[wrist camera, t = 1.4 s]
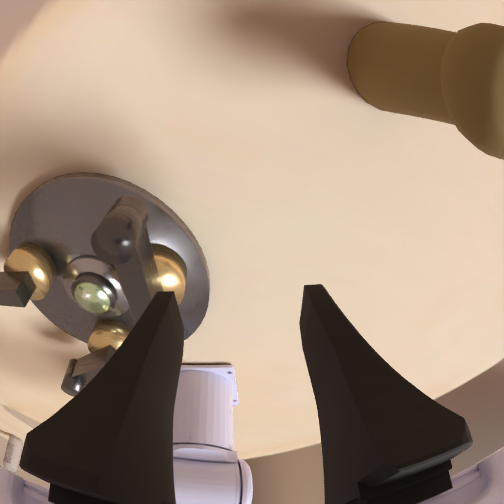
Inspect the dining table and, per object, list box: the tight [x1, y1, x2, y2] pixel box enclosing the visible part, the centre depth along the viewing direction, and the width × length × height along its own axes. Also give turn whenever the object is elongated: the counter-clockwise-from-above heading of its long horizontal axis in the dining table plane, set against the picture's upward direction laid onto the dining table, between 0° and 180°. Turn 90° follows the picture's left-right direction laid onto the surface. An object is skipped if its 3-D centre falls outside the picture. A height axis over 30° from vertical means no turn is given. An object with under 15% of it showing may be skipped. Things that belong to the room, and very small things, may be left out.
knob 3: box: [91, 196, 188, 323], centre depth 17 cm, size 9×4×5 cm, turn 1°
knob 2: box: [61, 319, 132, 397], centre depth 23 cm, size 9×4×5 cm, turn 122°
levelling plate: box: [10, 173, 210, 343], centre depth 21 cm, size 18×18×3 cm
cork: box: [347, 22, 504, 160], centre depth 9 cm, size 6×6×11 cm
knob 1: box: [0, 241, 56, 307], centre depth 18 cm, size 9×4×5 cm, turn 91°
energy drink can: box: [3, 435, 23, 473], centre depth 60 cm, size 6×6×15 cm
